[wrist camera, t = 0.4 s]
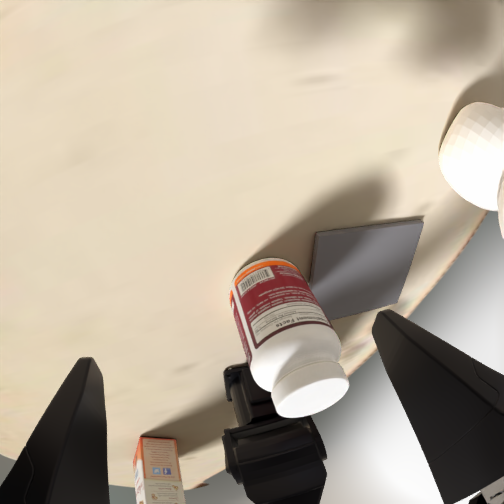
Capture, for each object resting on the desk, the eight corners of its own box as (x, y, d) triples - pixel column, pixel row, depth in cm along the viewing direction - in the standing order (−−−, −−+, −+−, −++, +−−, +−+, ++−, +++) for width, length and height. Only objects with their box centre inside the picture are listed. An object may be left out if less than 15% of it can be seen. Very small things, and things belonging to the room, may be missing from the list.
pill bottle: (281, 315, 28) (326, 419, 19) (217, 308, 26) (247, 427, 17) (312, 261, 25) (379, 367, 17) (243, 247, 23) (293, 371, 14)
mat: (394, 299, 32) (397, 302, 31) (303, 321, 30) (305, 326, 29) (420, 219, 26) (423, 222, 25) (315, 232, 24) (319, 236, 23)
